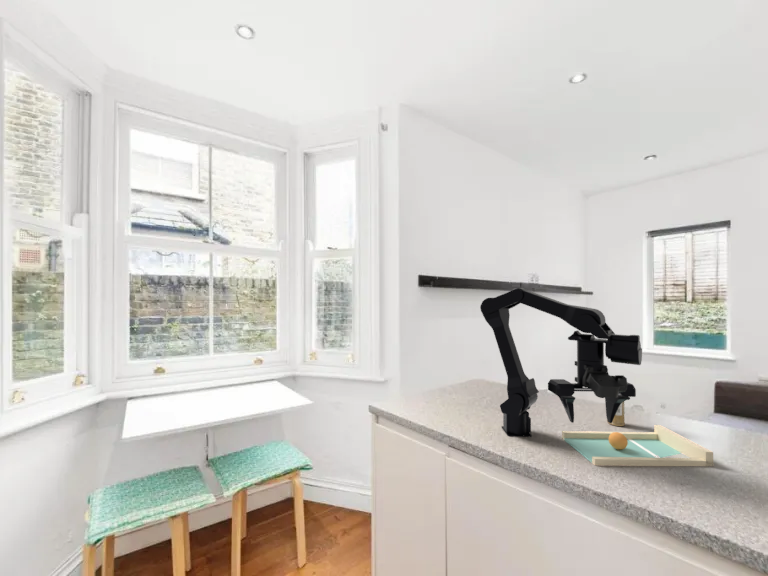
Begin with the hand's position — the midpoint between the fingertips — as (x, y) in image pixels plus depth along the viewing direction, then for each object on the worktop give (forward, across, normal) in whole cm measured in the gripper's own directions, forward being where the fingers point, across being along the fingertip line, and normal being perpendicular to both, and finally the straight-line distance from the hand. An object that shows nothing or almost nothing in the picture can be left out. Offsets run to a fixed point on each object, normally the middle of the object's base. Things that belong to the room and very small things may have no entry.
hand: (590, 422), depth 87 cm
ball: (+5, +7, +1) cm, 9 cm away
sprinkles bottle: (+8, +18, +19) cm, 27 cm away
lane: (+8, +10, 0) cm, 12 cm away
